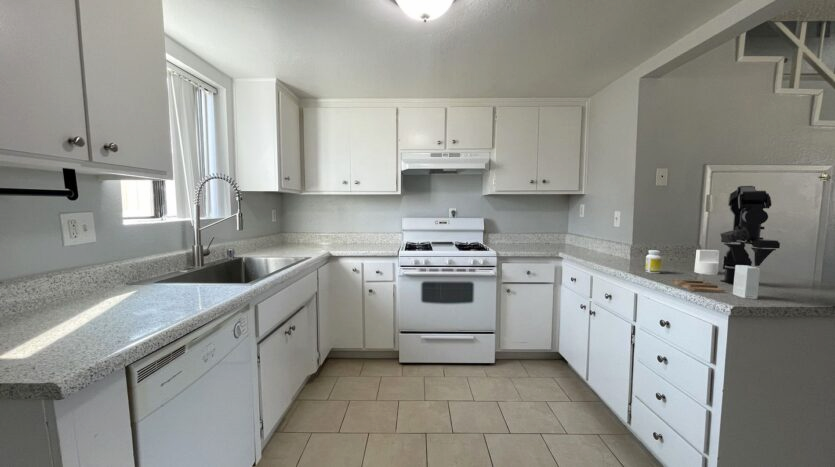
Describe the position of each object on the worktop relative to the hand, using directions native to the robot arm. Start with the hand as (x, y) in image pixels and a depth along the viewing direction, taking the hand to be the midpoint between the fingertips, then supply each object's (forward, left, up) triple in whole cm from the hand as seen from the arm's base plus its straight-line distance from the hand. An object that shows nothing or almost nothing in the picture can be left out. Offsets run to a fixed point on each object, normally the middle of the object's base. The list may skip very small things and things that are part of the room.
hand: (746, 263), depth 121 cm
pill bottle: (-41, -11, -13) cm, 44 cm away
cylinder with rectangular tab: (-45, +16, -13) cm, 50 cm away
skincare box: (0, 0, -13) cm, 13 cm away
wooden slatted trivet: (-11, -9, -13) cm, 19 cm away
